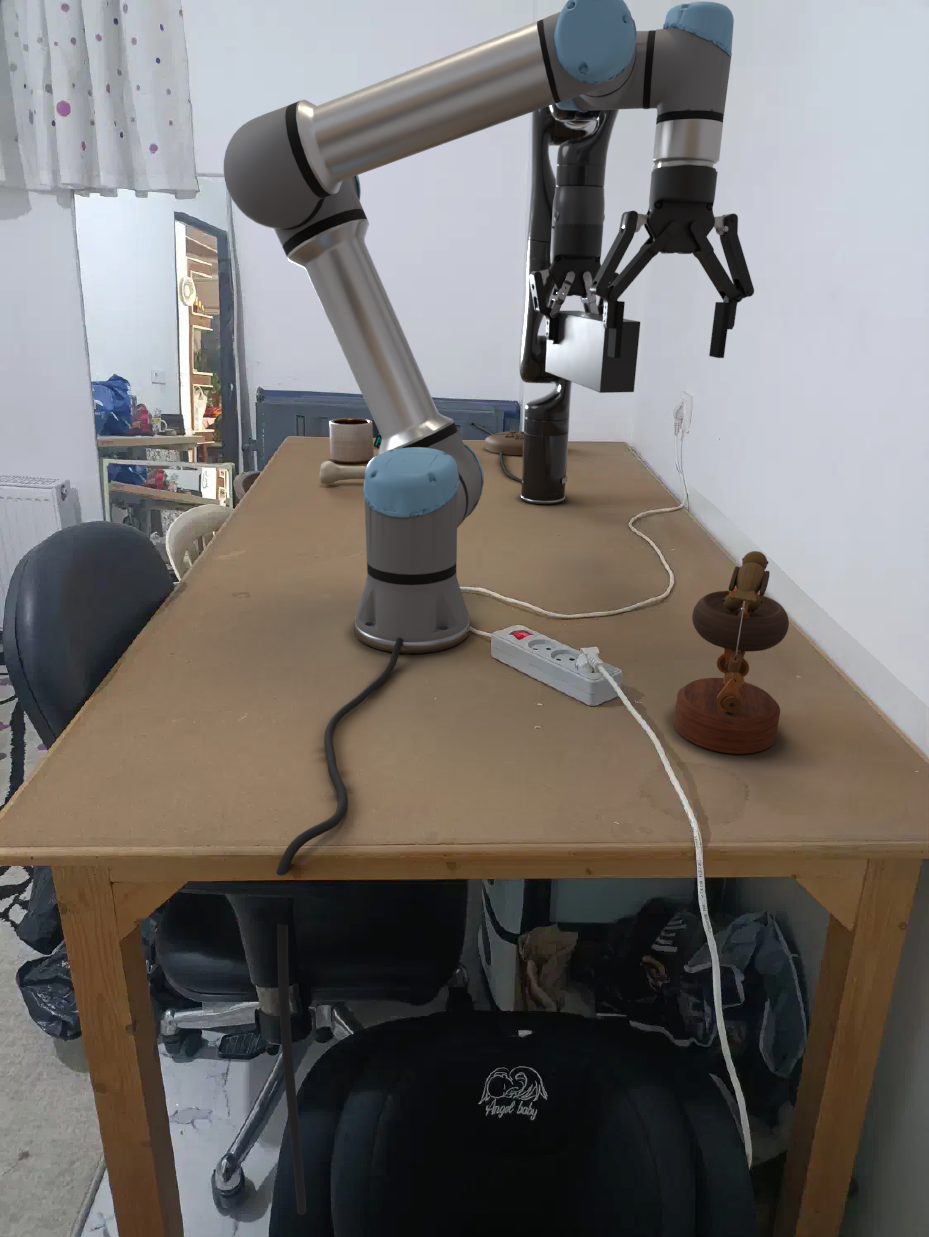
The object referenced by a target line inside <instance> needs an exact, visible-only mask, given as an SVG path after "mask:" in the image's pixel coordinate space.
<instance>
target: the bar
mask: <svg viewBox="0 0 929 1237" xmlns="http://www.w3.org/2000/svg"><path fill="white" fill-rule="evenodd" d="M557 319H559V325H558V342H557V344H550V343H549V340H547V349H546V368H545V371H546V372H548V373H551V374H553V375H556V376H558V377H561V378H564V379H566V380H569V381H571V382H572V383H573V384H577V385H579V386H582V387H585V388H587V389H590V390H592V391H595V392H597V393H600V394H604V393H605V394H606V393H607V394H611V393H614V394H615V393H635V385H636V375H637V374H636V373H637V363H638V353H639V352H638V351H639V343H640V342H639V341H640V331H641V321H640V320H633V319H627V318H623V330H622V342H621V354H620V358H613V357H610V356H607V355H608V342H609V329H607V328H604V326H603V315H600V314H594V313H589V312H585V311H583V310H560V311H559V313H558V316H557Z"/></svg>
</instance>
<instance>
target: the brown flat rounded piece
mask: <svg viewBox="0 0 929 1237" xmlns="http://www.w3.org/2000/svg"><path fill="white" fill-rule="evenodd" d="M523 443H524V431H522V430H520V431H517V430H512V431H511V430H509V431H501V432H497V433H493V434H492V435H491V434H489V435H488V436H487V437H486V438H485V439H484V449H485V450H487V451H488V452H491V453H493V454H499V455H500V452H501V451H502V452H503V455H508V456H523Z"/></svg>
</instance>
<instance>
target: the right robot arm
mask: <svg viewBox="0 0 929 1237" xmlns="http://www.w3.org/2000/svg"><path fill="white" fill-rule="evenodd" d="M619 111H620V109H616V110H589V111H587V112H581V111H579V110H562V109H560V108H558V107H557V106H556V104H553V105H550V106H547V107H545V108H542V109H539V110H536V111H533V112H531V181H530V183H531V186H530V201H529V211H528V212H529V214H528V224H527V237H526V254H525V255H526V262H525V263H526V264H525V296H524V298H525V299H524V310H523V320H522V328H521V330H522V331H521V340H520V349H519V362H518V365H519V375H520V378H521V380H522V381H523V382H524V383H526V384H527V383H528V384H550V385H551V384H555V386H554V388H553V389H552V390H551V391H550V392H549V393H547V394H545V395H543V396H540V397H538V398H534V399H532V400H530V401H528V402H527V403H526V404H525V406H524V417H523V418H524V419H523V420H524V421H523V423H524V424H523V432H524V443H523V455H522V470H521V471H522V472H521V478H519V477H517V476H515V475H513V474H512V473H510V472H509V471H508V470H507V467H506V466H505V462H504V454H503V452H502V451H501V452H500V454H499V461H500V466H501V468H502V470H503V472H504V474H505V475H506V476H507V477H509V478H511V479H512V480H514V481H516V482H518V483H521V490H520V491H521V493H520V500H521V501H523V502H526V503H529V504H536V505H556V504H561V503H563V502H565V500H566V483H567V482H568V476H567V465H568V449H569V432H570V417H571V416H570V415H571V398H572V395H571V394H572V387H573V386H572V385H573V382H571V381H569V380H566V379H564V378H561V377H558V376H556V375H553V374H551V373H548V372H546V371H545V368H546V349H547V340H549V343H550V344H557V342H558V325H559V319H557V316H558V313H559V311H561V308H562V306H563V305H564V303H565V301H566V299H567V297H573V296H576V297H579V299H580V301H581V303H582V306H583V309H584V312H589V313H594V314H600V315H603V312H604V300H603V298H601V297H599V298H598V301H597V295H595V294H592V293H591V292H590V287H591V285H592V283H593V281H594V279H595V277H596V275H597V273H598V271H599V269H600V267H601V265H602V264H601V258H602V252H603V251H602V249H603V236H604V235H603V234H604V222H605V219H606V215H605V210H606V208H605V207H606V202H605V201H606V200H605V183H606V171H607V170H606V169H607V161H608V160H607V158H608V152H609V146H610V141H611V138H612V134H613V130H614V127H615V123H616V120H617V118H618V115H619ZM552 146H553V147H558V149H557V153H556V154H557V155H556V171H555V172H556V173H555V172H554V170H553V167H552V163H551V159H550V147H552ZM619 274H620V273H619V272H617V271H615V273H614V275H613V277H612V279H611V281H610V283H609V285H608V287H609V286H610V285H611V284H612V282H613V281H614V280H615V279H616V278H617V276H618V275H619ZM544 317H545V335H544V334H539V331H540V328H541V326H542V325H541V324H542V322H543V319H544ZM470 425H471V426H473V425H475V426H476V427H477V428H478V429H480V430H482V431H484V432H486V433H488V434H489V435H492V434H494V432H493V431H491V430H489V429H488V428H485V427H484V426H481V425H479V424H478V425H477V424H475V423H473V422H472V421H471V423H470Z"/></svg>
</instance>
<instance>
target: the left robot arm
mask: <svg viewBox="0 0 929 1237" xmlns="http://www.w3.org/2000/svg"><path fill="white" fill-rule="evenodd" d="M734 22H735V20H734V15H733V12H732V11H731V9H730V8H729V7H728V6H727V5H725V4H723V3H720V2H715V1H703V0H701V1H691V2H690V3H680V4H677V5H675V6H673V7H671V8H670V9H669V10H668V11H667V13H666V15H665V20H664V23H663V25H662V28H660V29H659V28H657V29H654V30H653V29H652V30H637V26H636V21H635V20H634V18H633V16H632V14H631V10H630V8H629V7H628V4H627V3H626V2H625V0H568V1H567V2H566V3H565V5H563V8H562V9H561V11H558V12H556V13H553V14H551V15H548V16H546V17H544V18H542V19H539V20H537V21H533V22H531V23H529V24H526V25H524V26H522V27H519V28H516V29H514V30H511V31H508V32H505V33H503V34H501V35H498V36H495V37H493V38H490V39H487V40H485V41H482V42H479V43H477V44H475V45H472V46H470V47H467V48H464V49H462V50H458V51H456V52H454V53H451V54H448V55H446V56H443V57H440V58H438V59H435V60H433V61H429V62H428V63H424V64H423V65H420V66H417V67H414V68H412V69H409V70H407V71H404V72H402V73H399V74H396V75H394V76H391V77H389V78H386V79H383V80H381V81H378V82H376V83H373V84H370V85H368V86H365V87H362V88H360V89H358V90H357V89H356V90H354V91H352V92H350V93H347V94H345V95H342V96H340V97H337V98H334V99H331V100H328V101H326V102H324V103H321V104H319V105H316V104H315V103H312V102H311V101H309V100H307V99H301V100H298V101H295V102H293V103H290V104H288V105H286V106H283V107H280V108H278V109H274V110H271V111H269V112H267V113H264V114H261V115H259V116H257V117H254V118H252V119H250V120H248V121H247V122H245V123H243V124H242V125H241V126H240V127H239V128H238V129H237V130H236V131H235V132H234V133H233V134H232V136H231V138H230V139H229V141H228V144H227V146H226V149H225V152H224V157H223V177H224V182H225V186H226V189H227V191H228V193H229V196H230V198H231V200H232V201H233V203H234V205H235V206H236V207H237V209H238V210H239V211H240V212H241V213H242V214H243V215H244V216H245V217H247V218H248V219H250V220H251V221H253V222H254V223H255V224H258V225H260V226H262V227H265V228H269V229H273V230H274V232H275V235H276V236H277V239H278V241H279V243H280V245H281V248H282V249H283V252H284V254H285V256H286V259H287V260H288V262H290V263H293V264H294V265H297V266H299V267H301V268H303V269H304V270H305V272H306V275H307V276H308V278H309V281H310V283H311V285H312V287H313V290H314V291H315V294H316V296H317V297H318V300H319V302H320V305H321V307H322V309H323V312H324V314H325V315H326V318H327V320H328V322H329V324H330V327H331V329H332V331H333V333H334V335H335V338H336V340H337V342H338V344H339V347H340V349H341V351H342V353H343V356H344V358H345V360H346V362H347V365H348V367H349V368H350V370H351V373H352V375H353V377H354V380H355V382H356V384H357V386H358V389H359V390H360V393H361V395H362V397H363V399H364V402H365V404H366V406H367V408H368V410H369V413H370V415H371V417H372V419H373V422H374V423H375V426H376V428H377V430H378V433H380V435H381V437H382V442H381V445H379V447H378V451H377V455H374V457H373V459H372V460H370V461H368V463H367V464H366V466H367V467H366V470H365V479H364V481H363V489H362V494H363V497H364V517H365V518H364V520H365V545H366V546H365V548H366V549H365V550H366V579H365V584H364V586H363V589H362V592H361V596H360V600H359V602H358V606H357V609H356V612H355V617H354V633H355V636H356V638H357V639H358V640H359V641H360V642H362V643H363V644H365V645H367V646H368V647H371V648H374V649H377V650H380V651H384V652H390V653H391V655H390V658H389V662H388V664H387V665H386V667H385V669H384V670H383V671H382V673H381V674H379V676H378V677H376V679H375V680H373V681H372V682H371V683H370V684H368V685H367V687H365V688H364V689H363V690H362V691H361V692H360V693H359V694H358V695H357V696H355V697H354V698H353V699H352V700H350V701H349V702H347V703H345V705H343V706H342V707H341V708H339V709H338V710H337V711H336V712H335V713H334V715H333V716H332V717H331V718H330V719H329V721H328V723H327V725H326V728H325V730H324V734H323V742H324V751H325V755H326V761H327V768H328V773H329V777H330V779H331V782H332V785H333V787H334V789H335V791H336V794H337V798H338V799H337V800H338V802H337V807H336V808H335V812H334V814H332V815H331V816H330V817H329V818H328V819H326V820H324V821H322V822H320V823H318V824H316V825H314V826H311V827H309V828H308V829H306V830H304V831H303V832H301V833H300V834H298V835H297V836H296V837H295V838H294V839H293V840H292V841H291V842H290V844H289V845H288V847H286V849H285V850H284V852H283V854H282V856H281V858H280V860H279V863H278V867H277V869H276V874H277V875H278V876H284V875H286V874H287V873H288V871H289V868H290V865H291V863H292V861H293V860H294V857H295V855H296V854H297V853H298V851H299V850H300V849H301V848H302V847H303V846H304V845H306V844H307V843H308V842H309V841H311V840H313V839H315V838H316V837H318V836H320V835H323V834H325V833H326V832H328V831H331V830H332V829H334V828H335V827H336V826H338V825H339V824H340V823H341V821H342V820H343V818H344V817H345V815H346V813H347V810H348V805H349V800H348V799H349V798H348V792H347V788H346V786H345V784H344V782H343V779H342V777H341V775H340V773H339V769H338V767H337V758H336V752H335V748H334V742H333V740H334V738H333V737H334V733H335V729H336V727H337V725H338V723H339V722H340V721H341V720H342V719H343V718H344V717H345V716H346V715H348V713H350V712H351V711H353V709H355V708H356V707H357V706H359V705H360V704H361V703H363V702H364V701H365V700H366V699H367V698H368V697H369V696H370V695H371V694H372V693H373V692H375V690H377V689H378V688H379V687H380V686H381V685H382V684H383V683H384V682H385V681H386V680H387V679H388V678H389V676H390V675H391V674H392V672H393V670H394V669H395V667H396V665H397V662H398V658H399V654H425V653H433V652H439V651H443V650H446V649H449V648H452V647H455V646H457V645H458V644H460V643H462V642H463V641H464V640H466V639H467V637H468V636H469V634H470V616H469V612H468V608H467V606H466V601H465V599H464V596H463V593H462V589H461V586H460V583H459V581H458V577H457V561H458V560H457V559H458V558H457V557H458V556H457V554H458V528H459V527H460V526H461V524H462V523H464V521H465V520H466V519H467V518H468V517H469V516H470V515H471V514H472V513H473V512H474V510H476V508H477V506H478V504H479V502H480V500H481V497H482V493H483V490H484V489H483V488H484V483H485V475H484V474H485V473H484V469H483V466H482V463H481V460H480V458H479V457H478V455H477V454H476V453H475V451H474V450H473V448H471V447H470V446H469V445H468V444H466V443H465V442H464V441H463V439H462V437H461V434H460V432H459V430H458V428H457V425H456V422H455V420H454V419H453V418H450V417H448V416H445V415H443V414H441V413H440V412H439V411H438V408H437V407H436V404H435V402H434V399H433V396H432V395H431V393H430V390H429V387H428V385H427V383H426V381H425V378H424V375H423V373H422V372H421V369H420V367H419V365H418V361H417V359H416V357H415V355H414V353H413V351H412V348H411V346H410V344H409V341H408V339H407V337H406V334H405V332H404V330H403V328H402V325H401V322H400V321H399V319H398V316H397V314H396V312H395V309H394V306H393V304H392V302H391V300H390V297H389V295H388V293H387V290H386V288H385V286H384V284H383V281H382V279H381V277H380V275H379V272H378V270H377V268H376V264H375V263H374V260H373V258H372V256H371V253H370V251H369V249H368V246H367V245H366V242H365V239H366V236H367V233H368V229H369V226H370V222H369V220H368V217H367V215H366V212H365V210H364V207H363V206H362V204H361V195H362V194H361V193H362V192H361V189H362V188H361V182H360V177H359V175H361V174H364V173H367V172H370V171H373V170H375V169H378V168H381V167H383V166H386V165H390V164H392V163H396V162H397V161H400V160H403V159H406V158H409V157H411V156H414V155H417V154H420V153H423V152H425V151H428V150H431V149H434V148H436V147H439V146H443V145H444V144H447V143H450V142H453V141H456V140H459V139H461V138H464V137H467V136H470V135H473V134H475V133H478V132H481V131H484V130H487V129H489V128H491V127H494V126H498V125H500V124H504V123H506V122H509V121H511V120H514V119H517V118H520V117H522V116H525V115H528V114H532V112H533V111H536V110H539V109H542V108H545V107H547V106H550V105H553V104H556V106H557V107H558V108H560V109H562V110H579V111H581V112H587V111H589V110H616V109H619V110H637V109H639V110H640V109H643V110H650V109H652V110H653V109H655V110H656V120H655V130H654V131H655V133H654V145H653V155H652V162H653V163H654V164H655V165H657V167H656V168H654V169H653V171H651V175H650V184H649V185H650V187H649V196H648V209H647V212H646V214H645V213H638V212H637V210H629V211H624V212H623V213H622V214H621V216H620V217H621V218H620V223H619V228H618V233H617V234H616V236H615V239H614V240H613V242H612V244H611V246H610V247H609V250H608V252H607V254H606V255H605V258H604V259H603V261H602V264H601V267H600V269H599V271H598V273H597V275H596V277H595V279H594V281H593V283H592V285H591V287H590V292H591V293H592V294H595V295H596V297H599V298H600V297H601V298H603V300H604V312H603V326H604V328H607V329H609V342H608V355H607V356H610V357H613V358H620V354H621V342H622V330H623V319H625V318H624V317H625V303H626V302H625V301H623V300H619V298H621V296H622V295H623V294H624V292H626V290H627V289H628V288H629V287H630V285H631V284H632V283H633V282H634V281H635V280H636V278H637V277H639V275H640V274H641V272H642V271H643V270H644V269H645V268H646V266H647V265H648V264H649V263H650V262H651V261H652V260H653V259H654V257H656V256H657V255H659V253H660V254H662V255H663V254H664V255H668V254H678V255H693V257H695V259H697V260H698V262H699V264H700V265H701V267H702V268H703V270H704V272H705V273H706V275H707V276H708V278H709V280H710V281H711V284H712V285H713V286H714V288H715V289H716V291H717V293H718V294H719V296H720V298H721V299H722V301H715V302H714V304H715V305H714V312H713V321H712V327H711V328H712V329H711V337H710V345H709V346H710V347H709V355H708V357H711V358H716V359H724V358H725V353H726V344H727V336H728V330H733V329H734V327H735V322H736V317H737V316H736V315H737V307H738V304H739V303H740V302H742V300H743V299H745V298H751V297H752V296H753V295H754V294H755V288H754V284H753V281H752V277H751V274H750V271H749V267H748V264H747V262H746V258H745V255H744V250H743V247H742V244H741V241H740V237H739V234H738V232H739V229H738V228H739V216H738V214H736V213H727V214H722V215H720V216H715V215H714V204H715V198H716V190H717V181H718V171H717V168H715V167H714V165H716V164H717V163H718V162H720V157H721V156H720V155H721V147H722V138H723V127H724V119H725V118H724V116H725V110H726V103H727V102H726V101H727V94H728V88H729V79H730V70H731V62H732V56H733V53H732V50H733V39H734V38H733V37H734V36H733V35H734V25H735V24H734ZM642 226H643V227H644V229H645V231H646V233H647V235H648V236H649V237H648V238H647V239H646V240H645V242H644V243H643V244H642V245H641V246H640V248H639V250H638V251H637V253H636V254H635V255H634V256H633V257H632V258H631V260H630V261H629V262H628V263H627V265H625V267H624V268H623V269H622V270H621V272H620V273H618V274H619V275H618V276H617V278H616V279H615V280H614V281H613V282H612V284H611V285H610V286H609V287H608V285H609V283H610V281H611V279H612V277H613V275H614V273H615V272H617V269H618V267H619V266H620V264H621V262H622V260H623V258H624V256H625V254H626V252H627V250H628V249H629V247H630V245H631V243H632V241H633V239H634V237H635V233H638V232H640V230H641V229H642ZM713 229H715V232H716V234H717V235H718V236H719V240H720V245H721V248H722V251H723V254H724V258H725V261H726V264H727V267H728V270H729V274H728V273H727V271H726V269H725V268H724V266H723V264H722V262H721V261H720V259H719V258H718V256H717V254H716V252H715V248H714V246H713V245H712V243H711V242H710V239H709V238H708V235H709V234H710V233H711V231H712V230H713ZM276 929H277V931H276V933H277V934H276V938H277V940H276V944H277V945H276V946H277V947H276V948H277V985H278V986H277V987H278V988H277V989H278V992H277V993H278V1008H279V1009H278V1010H279V1011H278V1012H279V1027H280V1041H281V1053H282V1064H283V1076H284V1077H283V1078H284V1087H285V1097H286V1106H287V1116H288V1117H287V1118H288V1125H289V1135H290V1144H291V1153H292V1154H291V1155H292V1162H293V1174H294V1184H295V1197H296V1199H295V1200H296V1210H297V1214H298V1216H304V1215H306V1213H307V1197H306V1184H305V1183H306V1182H305V1172H304V1161H303V1151H302V1150H303V1149H302V1140H301V1131H300V1130H301V1129H300V1121H299V1120H300V1119H299V1110H298V1097H297V1090H296V1087H297V1086H296V1077H295V1076H296V1075H295V1066H294V1055H293V1041H292V1040H293V1039H292V1026H291V1007H290V986H289V985H290V982H289V980H290V979H289V925H288V924H283V923H277V924H276Z"/></svg>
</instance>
